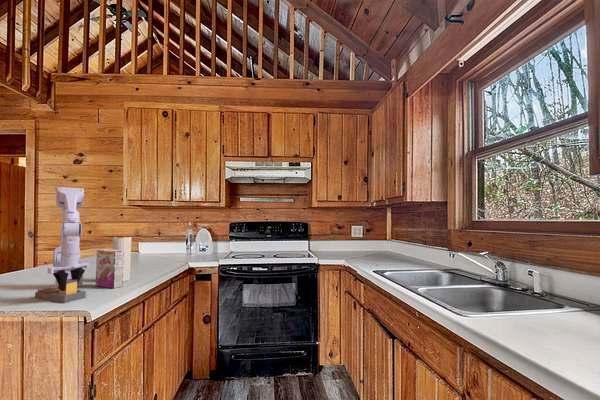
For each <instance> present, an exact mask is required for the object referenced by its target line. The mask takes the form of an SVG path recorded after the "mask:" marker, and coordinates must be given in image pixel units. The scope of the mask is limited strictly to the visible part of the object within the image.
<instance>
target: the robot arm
mask: <svg viewBox="0 0 600 400" xmlns="http://www.w3.org/2000/svg"><path fill="white" fill-rule="evenodd" d="M55 190H56V193H55V200H56V201H55V203H56V207H60V208H61V210H62V214H61V218H62V219H61V225H60V241H61V244H60V245H58V246H57V247H55V248H54V250H53V255H52V267H48V268H47V274H52V275H53V277H54V278H55V283H54V284H55V285H54V286H50V287H49V288H51V287H56V286H59V289H60V291H65V289H66V280H67V279H76V280H77V288H78V287H79V288H80V287H83V286H84V284H83V283H84V282H83V281H84V280H83V279H84V278H83V277H84V273H85V272H86V270H85V269H89V268H90V262H81V254H82V253H81V249H80V240H81V238H80V237H82V230H83V227H82V226H83V225H82V221H81V220H80V216H81V215H80V212H79V211H78V210H77V209H78V208H79V207H82V205H83V202H84V197H85V190H84V188H83V187H67V186H66V187H65V186H57V187H56V189H55Z"/></svg>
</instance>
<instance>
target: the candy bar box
mask: <svg viewBox="0 0 600 400" xmlns="http://www.w3.org/2000/svg"><path fill="white" fill-rule="evenodd" d="M123 259H124V251H122V250H113V249H111V248H110V249H109V248H104V249H97V250H96V262H95V263H96V264H95V265H96V269H95V287H99V288H105V289H112V290H114V289H119V288H122V287H123V283H124V282H123Z"/></svg>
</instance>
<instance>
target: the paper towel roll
mask: <svg viewBox="0 0 600 400" xmlns="http://www.w3.org/2000/svg"><path fill="white" fill-rule="evenodd" d="M132 238H133V237H132V236H130V237H129V236H115V237H113V239H112V250H122V251H124V259H123V283H124V282H127V281H129V280H131V262H132V261H131V260H132V259H131V256H132Z"/></svg>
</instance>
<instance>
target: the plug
mask: <svg viewBox="0 0 600 400" xmlns="http://www.w3.org/2000/svg"><path fill="white" fill-rule="evenodd" d="M77 290H78V287H77V280H76V279H67V280H66V289H65V291H60V289H59V294H63V295H68V294H72V293H77Z"/></svg>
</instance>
